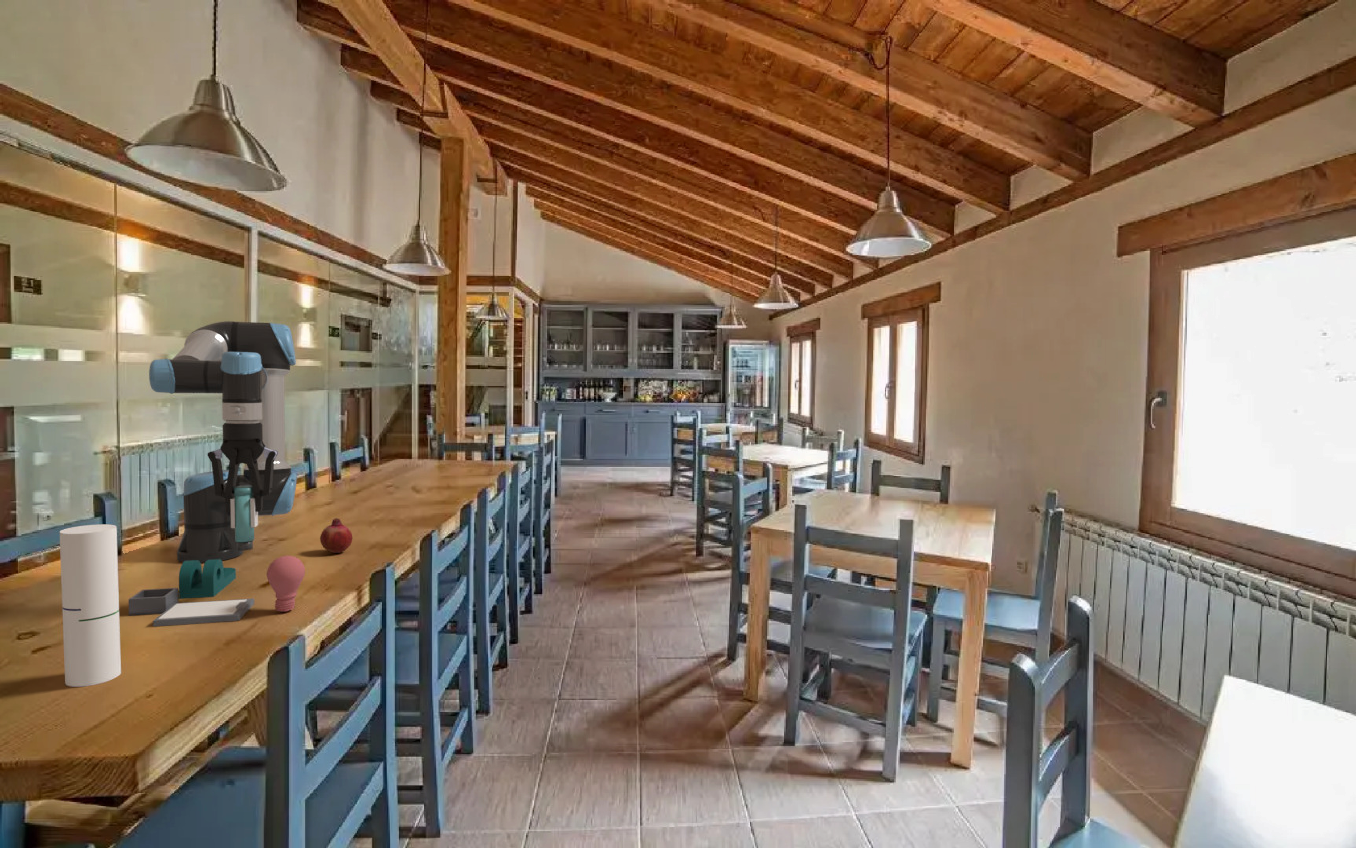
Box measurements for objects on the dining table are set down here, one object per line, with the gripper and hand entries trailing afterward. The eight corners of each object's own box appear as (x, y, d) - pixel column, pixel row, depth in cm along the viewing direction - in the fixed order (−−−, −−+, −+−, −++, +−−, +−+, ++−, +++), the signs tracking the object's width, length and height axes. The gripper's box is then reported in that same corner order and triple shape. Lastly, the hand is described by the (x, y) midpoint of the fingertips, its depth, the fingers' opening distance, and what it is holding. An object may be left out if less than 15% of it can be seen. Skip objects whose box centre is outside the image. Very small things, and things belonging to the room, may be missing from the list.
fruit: (347, 548, 205) (346, 514, 204) (356, 553, 199) (356, 519, 198) (317, 552, 199) (316, 517, 199) (325, 558, 193) (325, 522, 193)
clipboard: (175, 608, 150) (174, 600, 150) (254, 603, 155) (254, 595, 155) (153, 626, 140) (152, 617, 140) (238, 620, 144) (238, 612, 144)
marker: (238, 547, 158) (237, 485, 157) (257, 546, 159) (256, 485, 159) (232, 551, 155) (231, 488, 154) (252, 550, 156) (251, 488, 155)
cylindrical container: (86, 668, 120) (81, 524, 118) (131, 668, 120) (126, 524, 119) (53, 687, 113) (47, 533, 111) (100, 686, 113) (95, 534, 112)
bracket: (213, 597, 159) (212, 563, 158) (179, 599, 157) (178, 565, 157) (239, 575, 176) (239, 544, 176) (208, 577, 174) (208, 546, 174)
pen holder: (143, 605, 152) (142, 589, 152) (178, 603, 154) (178, 587, 154) (128, 615, 146) (128, 599, 145) (166, 613, 148) (165, 597, 147)
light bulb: (313, 608, 153) (312, 554, 152) (285, 618, 146) (284, 562, 145) (288, 604, 155) (287, 550, 154) (259, 614, 148) (258, 558, 147)
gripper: (194, 422, 149) (196, 531, 151) (279, 423, 154) (281, 528, 156) (206, 420, 156) (208, 524, 158) (287, 420, 161) (289, 521, 163)
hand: (244, 526), depth 157 cm, fingers closed on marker, 3 cm apart
